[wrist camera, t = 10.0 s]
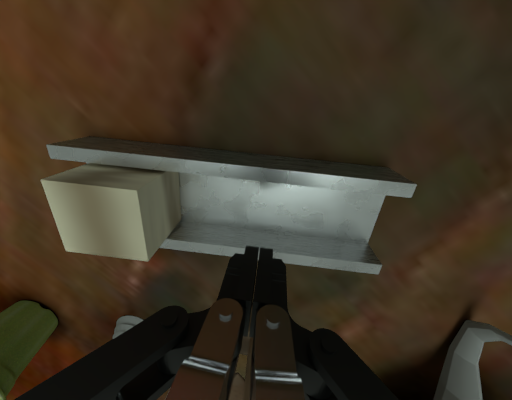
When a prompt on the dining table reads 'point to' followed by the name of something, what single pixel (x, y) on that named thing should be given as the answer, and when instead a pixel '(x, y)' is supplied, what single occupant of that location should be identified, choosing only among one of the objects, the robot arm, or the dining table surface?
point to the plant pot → (21, 339)
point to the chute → (261, 200)
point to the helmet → (466, 361)
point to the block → (114, 209)
